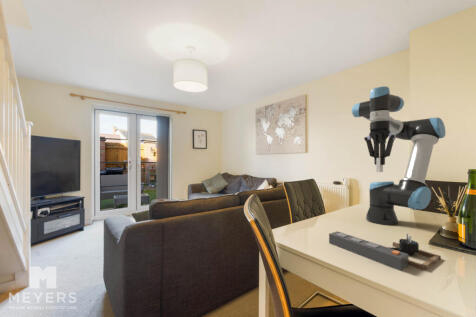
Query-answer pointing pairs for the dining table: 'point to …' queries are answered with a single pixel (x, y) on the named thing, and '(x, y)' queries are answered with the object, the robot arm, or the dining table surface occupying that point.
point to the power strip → (370, 250)
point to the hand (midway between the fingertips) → (379, 171)
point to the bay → (427, 263)
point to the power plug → (407, 246)
